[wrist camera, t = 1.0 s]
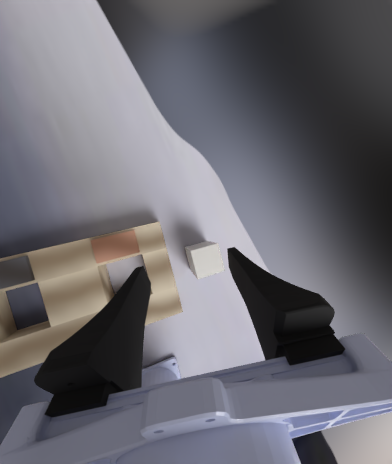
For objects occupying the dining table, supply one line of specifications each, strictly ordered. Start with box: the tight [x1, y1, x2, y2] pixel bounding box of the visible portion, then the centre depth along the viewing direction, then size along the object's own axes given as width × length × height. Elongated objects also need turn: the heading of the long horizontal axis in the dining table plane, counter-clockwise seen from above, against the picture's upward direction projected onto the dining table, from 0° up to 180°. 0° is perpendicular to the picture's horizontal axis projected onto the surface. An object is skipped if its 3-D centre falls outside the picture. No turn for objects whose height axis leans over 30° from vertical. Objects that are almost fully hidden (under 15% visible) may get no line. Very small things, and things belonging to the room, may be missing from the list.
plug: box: [185, 241, 225, 279], centre depth 24 cm, size 4×4×6 cm
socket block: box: [0, 222, 183, 378], centre depth 22 cm, size 14×26×3 cm, turn 104°
